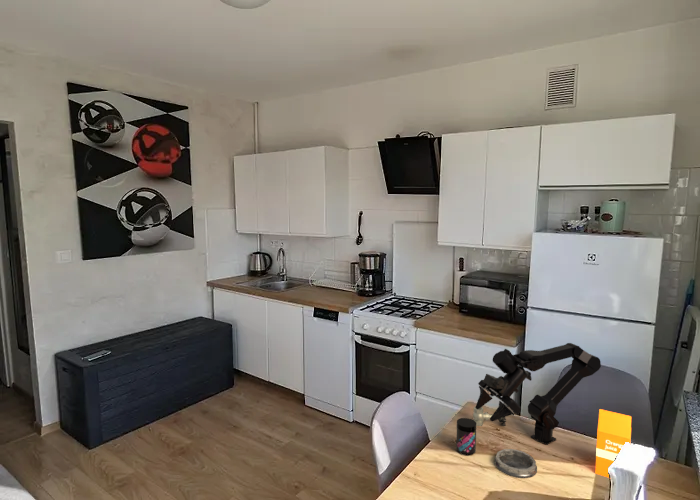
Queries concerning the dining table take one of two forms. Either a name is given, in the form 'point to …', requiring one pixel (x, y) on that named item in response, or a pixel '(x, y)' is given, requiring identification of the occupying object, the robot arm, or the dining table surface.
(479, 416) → the valve
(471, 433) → the supplement container
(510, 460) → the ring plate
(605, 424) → the orange juice
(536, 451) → the dining table surface
